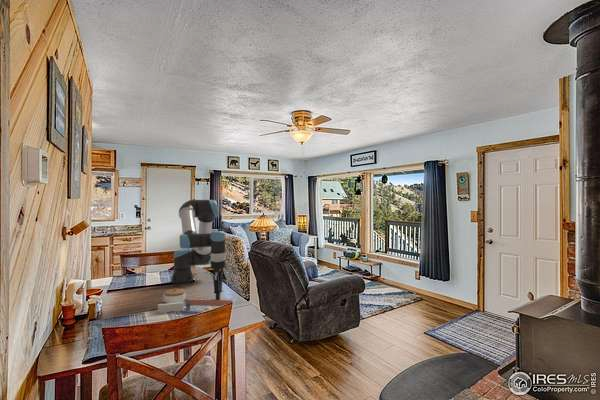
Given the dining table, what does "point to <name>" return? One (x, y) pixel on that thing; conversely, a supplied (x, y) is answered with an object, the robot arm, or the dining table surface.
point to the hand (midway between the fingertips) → (218, 304)
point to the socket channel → (171, 306)
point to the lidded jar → (174, 295)
